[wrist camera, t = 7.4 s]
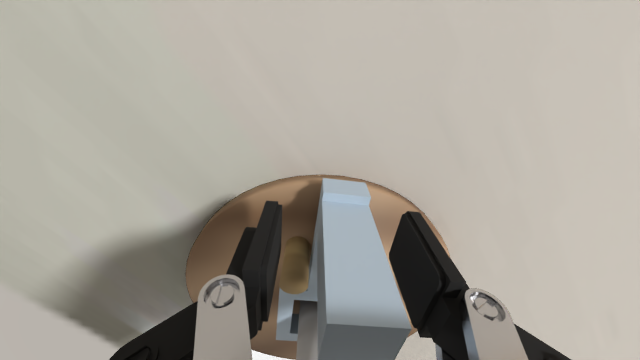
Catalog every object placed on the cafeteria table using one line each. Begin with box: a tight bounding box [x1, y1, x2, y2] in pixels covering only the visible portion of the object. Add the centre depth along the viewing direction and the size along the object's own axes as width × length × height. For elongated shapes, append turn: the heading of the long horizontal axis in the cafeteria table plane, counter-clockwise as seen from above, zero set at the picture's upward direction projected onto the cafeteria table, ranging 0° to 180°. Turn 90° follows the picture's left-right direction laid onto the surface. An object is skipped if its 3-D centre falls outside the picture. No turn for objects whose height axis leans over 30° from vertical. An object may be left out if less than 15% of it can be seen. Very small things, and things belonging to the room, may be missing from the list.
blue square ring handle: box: [276, 178, 412, 360], centre depth 13 cm, size 14×6×8 cm, turn 173°
